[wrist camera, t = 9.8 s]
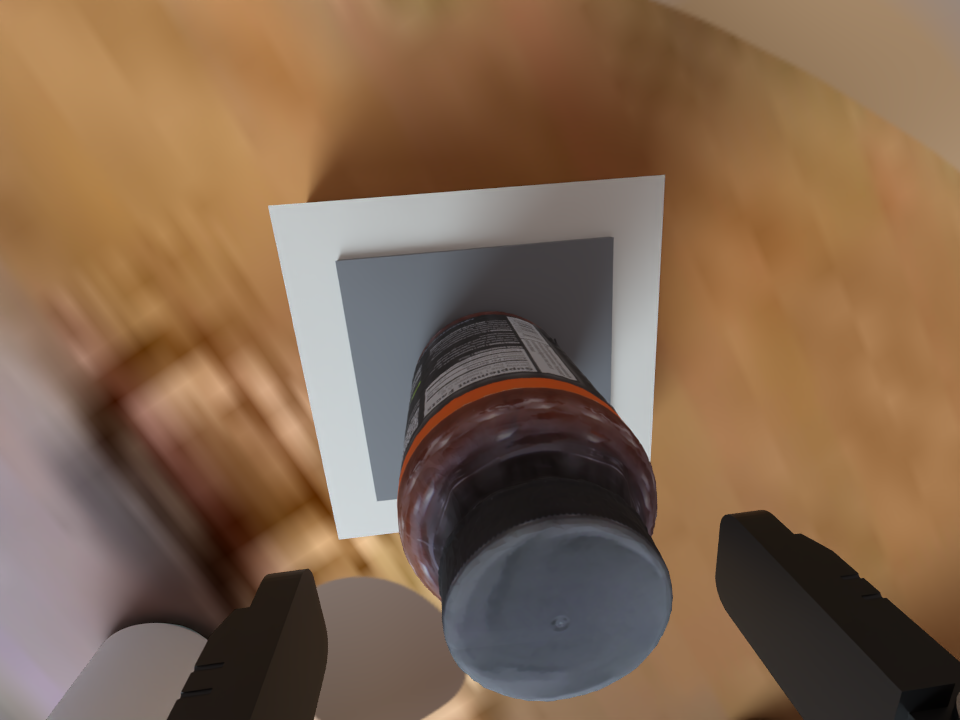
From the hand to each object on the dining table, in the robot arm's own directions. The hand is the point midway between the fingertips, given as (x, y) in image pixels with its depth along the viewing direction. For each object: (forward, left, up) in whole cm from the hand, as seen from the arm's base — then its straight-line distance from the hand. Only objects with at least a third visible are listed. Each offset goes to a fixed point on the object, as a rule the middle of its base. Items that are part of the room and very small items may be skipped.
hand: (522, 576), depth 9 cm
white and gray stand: (0, 0, -15) cm, 15 cm away
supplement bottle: (0, 0, -10) cm, 10 cm away
